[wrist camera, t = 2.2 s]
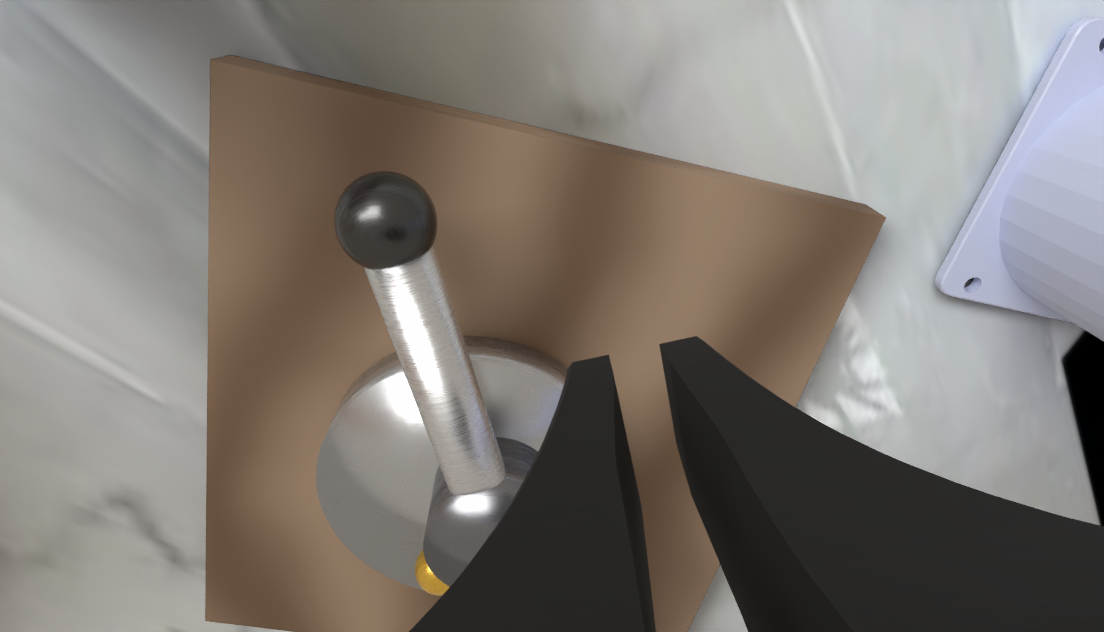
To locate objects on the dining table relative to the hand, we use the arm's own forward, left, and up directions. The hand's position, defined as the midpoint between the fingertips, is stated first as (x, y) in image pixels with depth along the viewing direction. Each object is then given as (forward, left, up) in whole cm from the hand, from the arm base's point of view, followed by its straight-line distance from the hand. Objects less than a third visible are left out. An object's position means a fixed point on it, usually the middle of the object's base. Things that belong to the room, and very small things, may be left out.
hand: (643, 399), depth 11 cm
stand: (+1, +8, -9) cm, 12 cm away
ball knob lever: (+2, +8, -8) cm, 12 cm away
